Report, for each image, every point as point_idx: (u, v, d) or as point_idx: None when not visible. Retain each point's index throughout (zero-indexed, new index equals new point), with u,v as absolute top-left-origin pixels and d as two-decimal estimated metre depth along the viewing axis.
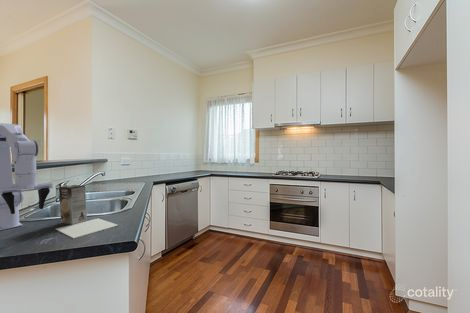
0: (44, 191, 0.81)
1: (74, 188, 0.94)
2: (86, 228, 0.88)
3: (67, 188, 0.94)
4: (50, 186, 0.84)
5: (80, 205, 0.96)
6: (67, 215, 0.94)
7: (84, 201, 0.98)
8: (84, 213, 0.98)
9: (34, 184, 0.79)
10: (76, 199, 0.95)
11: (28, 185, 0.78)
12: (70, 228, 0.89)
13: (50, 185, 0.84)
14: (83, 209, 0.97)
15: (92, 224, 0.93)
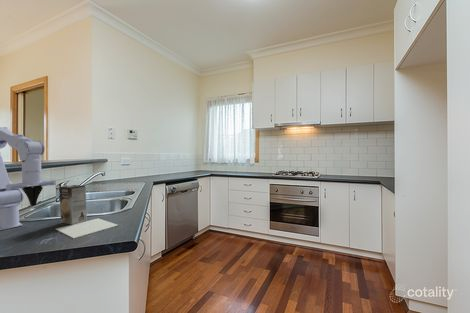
0: (37, 188, 0.87)
1: (74, 188, 0.94)
2: (86, 228, 0.88)
3: (67, 188, 0.94)
4: (53, 183, 0.92)
5: (80, 205, 0.96)
6: (67, 215, 0.94)
7: (85, 201, 0.98)
8: (84, 213, 0.98)
9: (39, 181, 0.88)
10: (77, 199, 0.95)
11: (34, 182, 0.86)
12: (70, 228, 0.89)
13: (53, 182, 0.92)
14: (83, 209, 0.97)
15: (92, 224, 0.93)
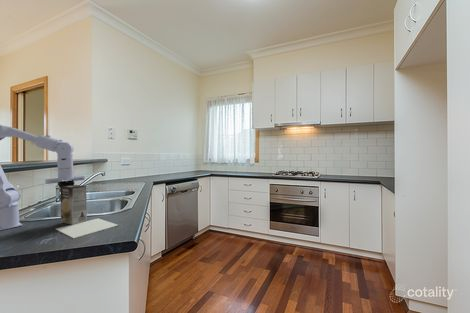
0: (70, 183, 1.01)
1: (75, 188, 0.94)
2: (86, 228, 0.88)
3: (68, 188, 0.94)
4: (83, 178, 1.06)
5: (80, 205, 0.96)
6: (67, 215, 0.94)
7: (85, 201, 0.98)
8: (84, 213, 0.98)
9: (72, 176, 1.02)
10: (77, 198, 0.95)
11: (68, 177, 1.00)
12: (70, 228, 0.89)
13: (83, 177, 1.06)
14: (83, 209, 0.97)
15: (92, 224, 0.93)
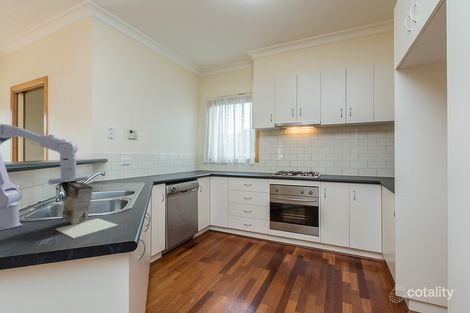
0: None
1: (82, 189, 0.94)
2: (86, 228, 0.88)
3: (75, 187, 0.93)
4: (86, 178, 1.04)
5: (84, 206, 0.96)
6: (69, 213, 0.94)
7: (89, 202, 0.98)
8: (86, 214, 0.97)
9: (75, 176, 1.00)
10: (82, 199, 0.95)
11: (71, 177, 0.98)
12: (70, 228, 0.89)
13: (86, 178, 1.04)
14: (86, 210, 0.97)
15: (92, 224, 0.93)
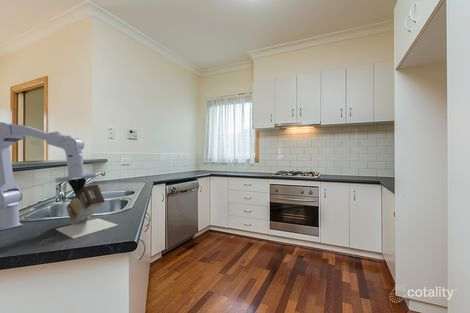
0: (82, 181, 0.95)
1: (93, 204, 0.89)
2: (86, 228, 0.88)
3: (88, 199, 0.89)
4: (94, 175, 1.00)
5: (89, 213, 0.94)
6: (73, 213, 0.93)
7: (95, 210, 0.95)
8: (88, 217, 0.96)
9: (83, 174, 0.95)
10: (90, 210, 0.92)
11: (79, 174, 0.94)
12: (70, 228, 0.89)
13: (94, 175, 1.00)
14: (90, 215, 0.96)
15: (92, 224, 0.93)
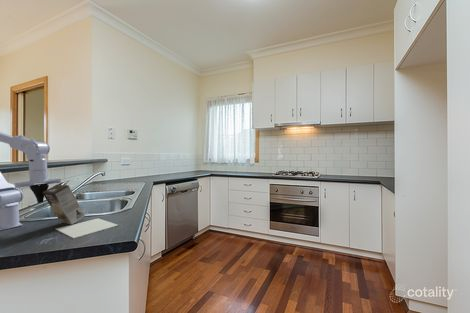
0: (44, 186, 0.91)
1: (58, 192, 0.89)
2: (86, 228, 0.88)
3: (50, 194, 0.88)
4: (59, 181, 0.97)
5: (72, 205, 0.93)
6: (63, 217, 0.93)
7: (75, 199, 0.94)
8: (79, 210, 0.96)
9: (45, 179, 0.92)
10: (65, 201, 0.91)
11: (41, 180, 0.91)
12: (70, 228, 0.89)
13: (59, 180, 0.97)
14: (77, 207, 0.95)
15: (92, 224, 0.93)
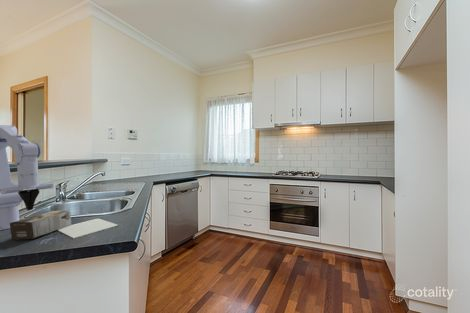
0: (33, 192, 0.83)
1: (33, 234, 0.78)
2: (86, 228, 0.88)
3: (28, 238, 0.78)
4: (51, 186, 0.89)
5: (54, 221, 0.86)
6: None
7: (50, 217, 0.84)
8: (62, 214, 0.90)
9: (36, 184, 0.84)
10: (46, 227, 0.83)
11: (30, 185, 0.82)
12: (70, 228, 0.89)
13: (51, 185, 0.89)
14: (58, 216, 0.88)
15: (92, 224, 0.93)
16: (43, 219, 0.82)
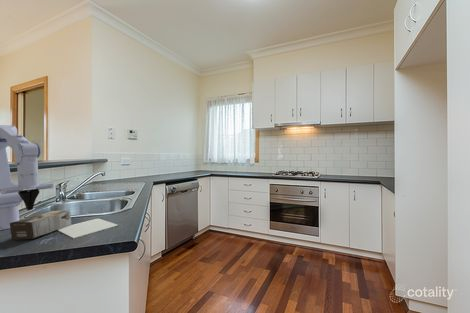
0: (33, 192, 0.83)
1: (33, 234, 0.78)
2: (86, 228, 0.88)
3: (28, 238, 0.78)
4: (51, 186, 0.89)
5: (54, 221, 0.86)
6: None
7: (50, 217, 0.84)
8: (62, 214, 0.90)
9: (36, 184, 0.84)
10: (46, 227, 0.83)
11: (30, 185, 0.82)
12: (70, 228, 0.89)
13: (51, 185, 0.89)
14: (58, 216, 0.88)
15: (92, 224, 0.93)
16: (43, 219, 0.82)
